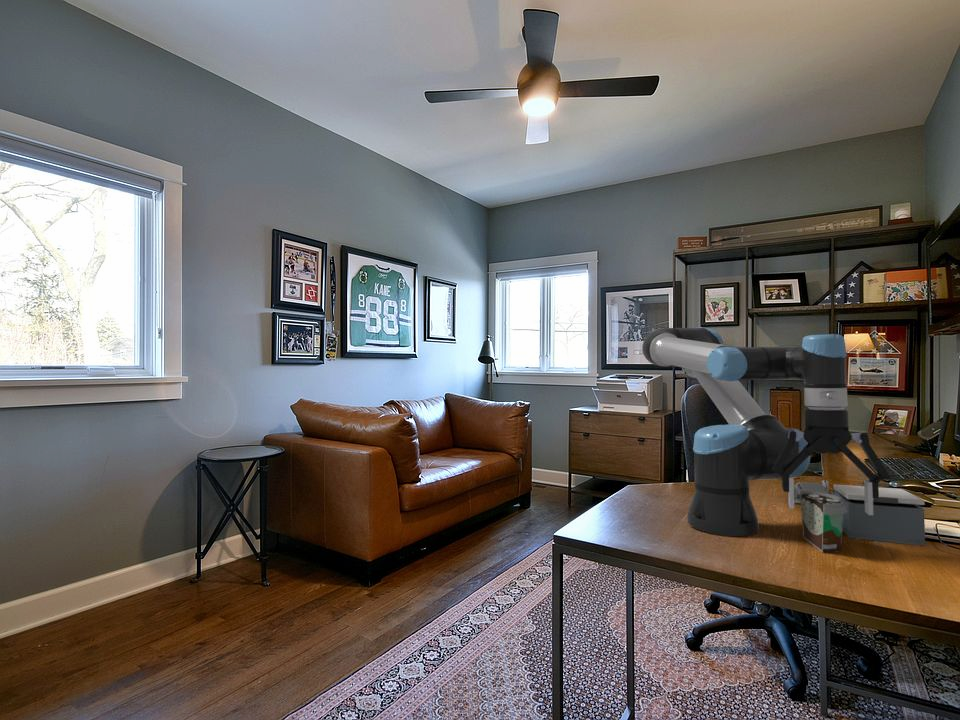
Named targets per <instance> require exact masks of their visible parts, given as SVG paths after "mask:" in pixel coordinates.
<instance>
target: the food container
mask: <svg viewBox="0 0 960 720" xmlns="http://www.w3.org/2000/svg"><path fill="white" fill-rule="evenodd" d="M800 500H801V504H800V508H801V509H800V510H801V522H802V537H803V539H804V540H806V541H807V542H808V543H810V544H811V545H812V546H814V547H815V548H816V549H817V550H819V552H821V553H822V554H831V553H832V554H833V553H837V552H841V550H842V541H843V514H844V513H847V507H846V504H845V502H844V500H843V499H842V498H840V497H838V496H835V495H831V494H830V493H829V494H826V493H821V492H813V491H800Z"/></svg>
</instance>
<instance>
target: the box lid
mask: <svg viewBox="0 0 960 720" xmlns="http://www.w3.org/2000/svg"><path fill="white" fill-rule="evenodd" d="M833 489H835V490H836V491H838V492H839V493H840V494H842V495H843V496H844V497H846V498H847V499H853V500H865V496H864V485H863V486H862V485H850V484H849V485H848V484H835V483H834V484H833ZM878 489H879V496H878V498H873V501H874V502H883V503H896V504H898V503H905V504H917V505H919V506H925V505H926V504H925V499H922V498H921V497H919V496H918V495H914V494H913V493H911V492H908V491H907V490H904V488H897V487H896V488H893V487H880V486H878Z"/></svg>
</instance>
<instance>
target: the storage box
mask: <svg viewBox="0 0 960 720" xmlns="http://www.w3.org/2000/svg"><path fill="white" fill-rule="evenodd" d="M833 489H834V488H833ZM833 491H834V495H835V496H838V497H840V498H842V499H843V500H844V502H845V504H846V507H847V513H844V514H843V529H842V532H844V533H845V534H846V536H847V537H848V538H849V539H855V540H856V539H857V540H858V539H859V540H867V541H878V542H887V543H897V544H904V545H905V544H906V545H916V546H924V545H925V546H926V534H925V533H926V532H925V531H926V529H925V509H924V508H923V507H922V506H921V505H918V504H905V503H898V504H896V503H883V502H874V501H873V515H868V514H867V513H866V512H865V500H853V499H847V498H846V497H844V496H843V495H842V494H840V493H839V492H838V491H836V490H835V489H834V490H833Z"/></svg>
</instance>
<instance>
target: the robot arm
mask: <svg viewBox="0 0 960 720" xmlns="http://www.w3.org/2000/svg"><path fill="white" fill-rule="evenodd" d="M641 346H642V347H641V350H642V354H643V356H644V358H645V359H646V360H647V362H649V363H650V364H653V366H657V367H659V366H660V367H680V368H682V370H683V371H684V372H685V374H686V375H688V376H689V378H690V377H691V378H694V379H696V380H697V381H698V382H699V384H700V386H701V388H702V389H704V391H705V393H706V394H707V395H708V397H709V398H710V399H711V401H712V403H714V405H715V406H716V409H718V411H719V412H720V414H721V415H722V416H723V418H724V420H726V422H727V423H728V424H715V425H709V426H704V427H702V428H699V429H698V430H697V431H696V432H695V434H694V435H693V436H694V438H693V447H692V450H693V462H694V463H693V466H694V468H693V469H694V493H693V496H692V499H691V502H690V504H689V508H688V511H687V524H688V523H689V524H690V525H691V526H693V527H694V528H693V527H692V528H693V529H695V528H697V529H696V530H698V529H699V530H698V531H700V530H702V531H701V532H704V531H705V533H708V534H712V533H713V535H719V536H729V537H730V536H731V537H732V536H733V537H742V536H744V537H745V536H751V535H755V534H756V533H758V532H759V530H760V529H759V527H760V526H759V523H760V522H759V518H758V516H757V512H756V510H755V508H754V505H753V502H752V499H751V496H750V481H757V480H778V479H780V480H781V489H782V491H783V492H784V493H787V499H788V500H787V501H788V502H787V503H788V504H787V505H788V507H789V510H790V509H791V510H795V503H794V486H795V481H794V480H795V479H794V478H796V477H799V476H801V475H802V474H803V475H804V473H805V472H806V470H808V468H809V465H810V462H811V455H813V454H814V452H816V453H819V454H828V453H830V454H834V455H836V454H837V455H838V454H839V453H843V455H844V456H845V457H846V458H847V459H848V460H849V461H850V462H852V464H853V465H854V466H856V467H857V468H858V470H859V471H861V472H862V474H864V476H866V477H867V478H868V479H863V486H864V496H865V512H866V513H867V514H868V515H873V498H878V496H879V489H878V487H879V483H880V482H881V481H888V480H889V479H890V478H891V477H890V474H889V472H888V471H887V470H886V468H885V466H884V464H883V463H882V461H881V459H880V458H879V457H878V455H877V453H876V452H875V450H874V449H873V447H872V445H871V444H870V439H869V434H868V433H866V432H864V431H859V432H855V433H851V432H850V429H849V411H847V409H845V408H847V407H849V405H848V384H847V376H848V375H847V357H848V353H847V348H846V340H845V337H844V336H843V335H840V334H835V333H831V334H830V333H829V334H811V335H805V336H804V337H803V338H802V344H801V345H799V346H798V345H796V346H794V345H793V346H756V347H755V346H752V347H751V346H734V345H726V344H724V340H723V338H722V336H721V335H720V333H718V331H716V330H715V329H712V328H709V327H708V328H707V327H702V326H698V327H663V328H662V327H661V328H658V329H655V330H653V331H651V332H650V333H648V334H647V336H646V337H645V338H644V340H643V343H642V345H641ZM773 380H774V381H779V380H780V381H785V380H791V381H792V380H793V381H795V380H803V389H804V390H803V395H804V399H803V400H804V402H803V403H804V406H805V407H807V408H806V409H805V410H804V423H805V425H804V426H805V427H804V430H803V432H802V431H801V430H799V429H798V428H793V427H788V428H786V427H785V426H784V425H783V423H782V422H781V421H780V420H779V418H777V417H776V415H773V414H770V413H765V412H764V410H763V409H762V408H761V406H759V404H758V403H757V402H756V401H755V399H754V397H752V396H751V394H750V393H749V392H748V391H747V389H746V388H745V386H744V385H743V384H742V382H740V381H773ZM852 440H854V441H855V443H857V444H859V446H860V447H861V449H862V450H863V452H864V454H865V456H866V457H867V458H868V460H869V462H870V463H871V465H872V466H873V467H874V468H873V469H874V470H875V471H876V473H874V472H873V471H872V470H871V469H870V468H869V467H868V466H867V464H865V463H864V462H863V461H862V460H861V459H860V458H859V457H857V455H856V454H854V452H853V451H852V450H851V449H850V448H849V447H848V444H849V443H850V442H851V441H852ZM793 479H794V480H793ZM689 524H688V525H689ZM690 525H689V526H690ZM691 526H690V527H691Z"/></svg>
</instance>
